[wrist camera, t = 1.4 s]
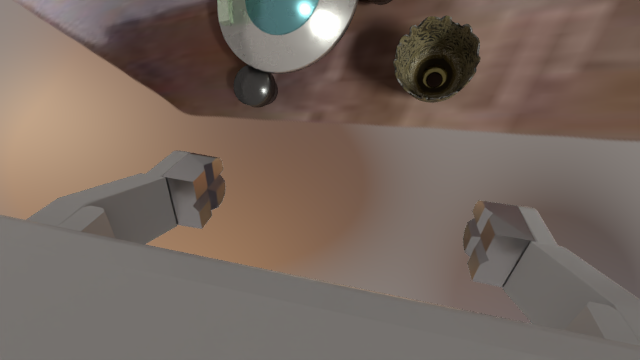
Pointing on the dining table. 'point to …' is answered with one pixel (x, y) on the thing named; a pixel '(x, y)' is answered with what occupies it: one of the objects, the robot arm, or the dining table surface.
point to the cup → (436, 58)
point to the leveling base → (280, 39)
